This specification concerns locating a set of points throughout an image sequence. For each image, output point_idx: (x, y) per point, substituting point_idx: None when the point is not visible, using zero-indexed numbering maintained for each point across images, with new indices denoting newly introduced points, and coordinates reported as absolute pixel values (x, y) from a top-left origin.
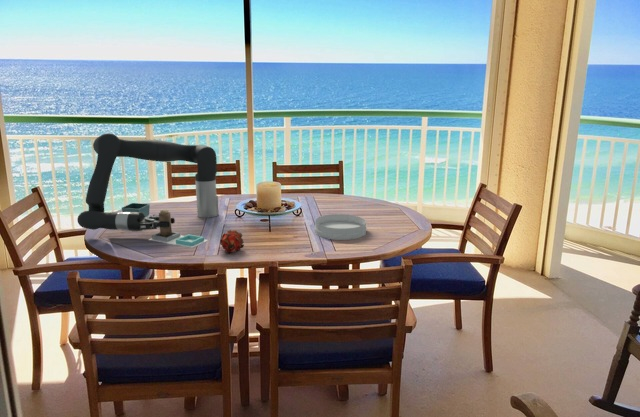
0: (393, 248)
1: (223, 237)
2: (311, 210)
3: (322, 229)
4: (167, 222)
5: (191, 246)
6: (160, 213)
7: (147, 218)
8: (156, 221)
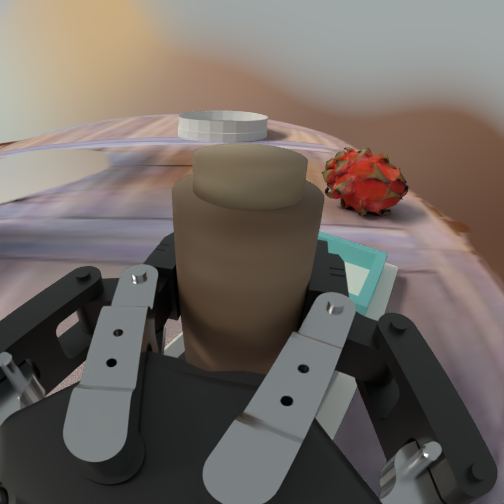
0: (304, 128)
1: (384, 173)
2: (75, 145)
3: (250, 127)
4: (326, 251)
5: (385, 269)
6: (281, 199)
7: (279, 441)
8: (343, 319)
